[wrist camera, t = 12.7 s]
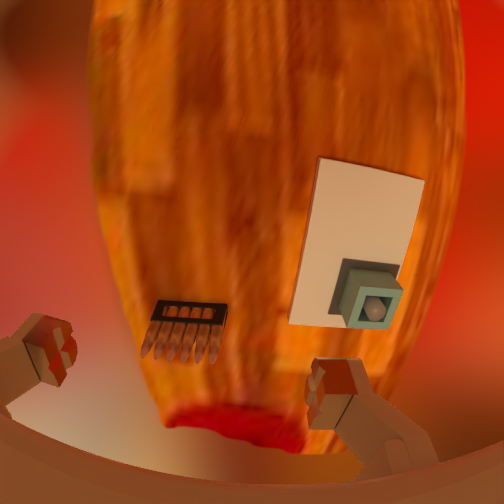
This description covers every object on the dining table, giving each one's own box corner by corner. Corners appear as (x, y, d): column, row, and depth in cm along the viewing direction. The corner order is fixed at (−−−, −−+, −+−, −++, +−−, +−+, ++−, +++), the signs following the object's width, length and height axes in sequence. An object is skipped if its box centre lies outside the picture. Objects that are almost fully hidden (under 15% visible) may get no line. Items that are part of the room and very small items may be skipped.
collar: (349, 267, 40) (360, 286, 36) (389, 272, 40) (403, 289, 36) (338, 307, 43) (346, 327, 38) (377, 309, 43) (387, 329, 38)
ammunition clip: (227, 303, 45) (219, 359, 34) (227, 314, 46) (219, 370, 35) (158, 300, 45) (133, 351, 34) (159, 310, 46) (136, 362, 35)
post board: (318, 156, 36) (332, 165, 29) (419, 178, 37) (448, 191, 30) (287, 318, 46) (291, 350, 39) (375, 323, 46) (390, 353, 39)
